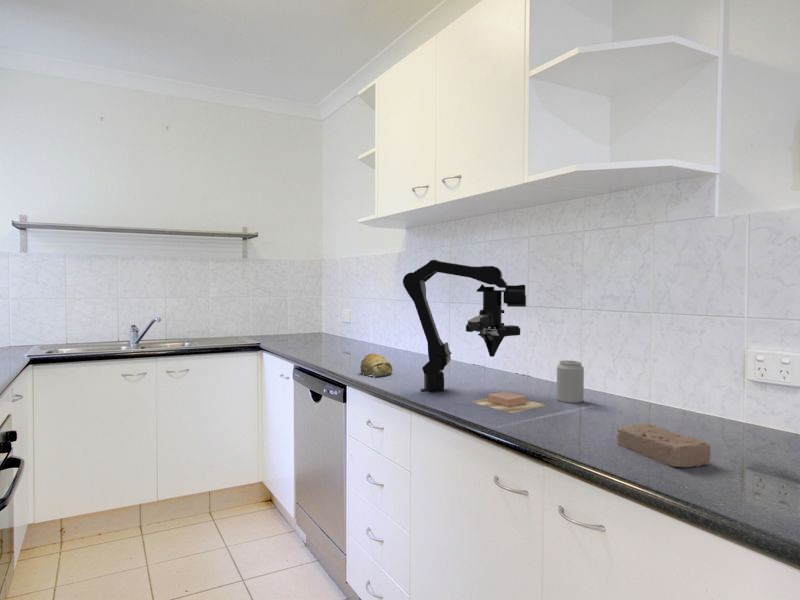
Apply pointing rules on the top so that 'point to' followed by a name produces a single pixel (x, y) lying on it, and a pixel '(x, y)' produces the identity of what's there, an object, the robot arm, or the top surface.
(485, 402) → the board
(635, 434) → the brick
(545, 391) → the top surface
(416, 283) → the robot arm
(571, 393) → the can
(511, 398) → the tile
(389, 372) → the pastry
